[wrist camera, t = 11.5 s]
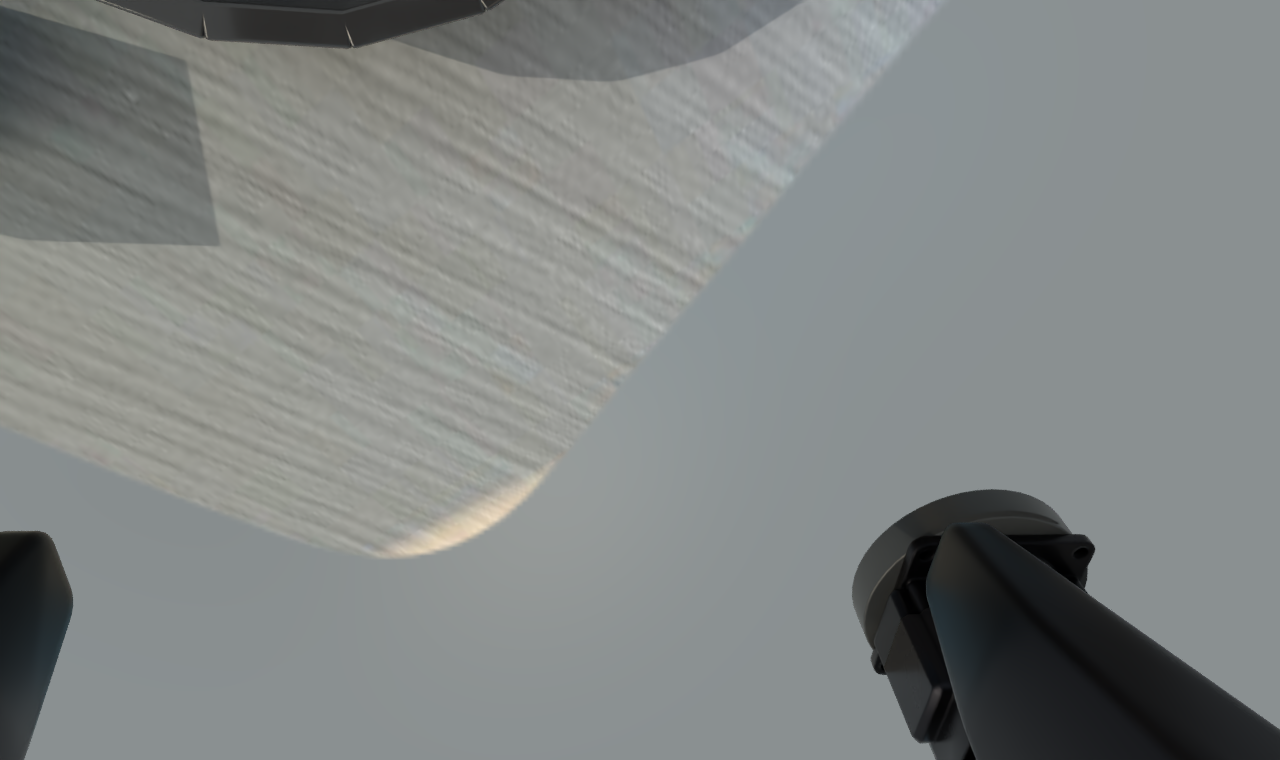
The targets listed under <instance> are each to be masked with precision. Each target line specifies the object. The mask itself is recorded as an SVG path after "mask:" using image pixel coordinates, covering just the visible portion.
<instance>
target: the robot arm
mask: <svg viewBox="0 0 1280 760" xmlns="http://www.w3.org/2000/svg"><path fill="white" fill-rule="evenodd" d="M925 550H926V551H925ZM923 551H925V552H923ZM1094 553H1095V546H1094V544H1093V543H1092V542H1091V541H1090V539H1089V538H1088V537H1087V536H1085V535H1082V534H1041V535H1004V534H1002V533H1001V532H999V531H998V530H997V529H995V528H994V527H992V526H990V525H988V524H986V523H953V524H950V525H949V526H948V527H947V528H946V529H945V530H944V532H943V534H942V536H922V537H919V538H917V539H915V540H913V541H912V542H911V543H910V545H909V547H908V549H907V552H906V555H905V558H904V561H903V564H902V567H901V570H900V573H899V576H898V579H897V581H896V584H895V587H894V590H893V591H892V592H891V594H890V595H889V597H888V600H887V603H886V606H885V609H884V612H883V615H882V618H881V621H880V624H879V627H878V630H877V633H876V636H875V639H874V645H875V646H874V649H873V652H872V655H871V663H872V666H873V668H874V670H875V672H876V673H878V674H882V675H887V676H888V679H889V681H890V684H891V686H892V688H893V691H894V693H895V696H896V698H897V700H898V703H899V706H900V708H901V710H902V713H903V715H904V718H905V720H906V723H907V725H908V728H909V730H910V732H911V735H912V737H913V738H915V740H916V741H917V742H919V743H929V745H930V747H931V750H932V752H933V754H934V757H935V759H936V760H1280V729H1278V728H1277V727H1275V726H1274V725H1273V724H1271V723H1270V722H1268V721H1267V720H1266V719H1264V718H1263V717H1261V716H1260V715H1258V714H1257V713H1256V712H1254V711H1253V710H1251V709H1250V708H1248V707H1247V706H1246V705H1244V704H1243V703H1242V702H1240V701H1239V700H1237V699H1236V698H1234V697H1233V696H1232V695H1230V694H1229V693H1227V692H1226V691H1224V690H1223V689H1222V688H1220V687H1219V686H1217V685H1216V684H1215V683H1213V682H1212V681H1210V680H1209V679H1208V678H1206V677H1205V676H1203V675H1202V674H1200V673H1199V672H1198V671H1196V670H1195V669H1193V668H1192V667H1190V666H1189V665H1187V664H1186V663H1185V662H1183V661H1182V660H1181V659H1179V658H1178V657H1176V656H1175V655H1173V654H1172V653H1171V652H1169V651H1168V650H1166V649H1165V648H1164V647H1162V646H1161V645H1159V644H1158V643H1156V642H1155V641H1154V640H1152V639H1151V638H1149V637H1148V636H1147V635H1145V634H1144V633H1142V632H1141V631H1139V630H1138V629H1137V628H1135V627H1134V626H1132V625H1131V624H1129V623H1128V622H1127V621H1125V620H1124V619H1123V618H1121V617H1120V616H1118V615H1117V614H1115V613H1114V612H1113V611H1111V610H1110V609H1108V608H1107V607H1105V606H1104V605H1103V604H1101V603H1100V602H1098V601H1097V600H1096V599H1094V598H1093V597H1091V596H1090V595H1089V594H1088V593H1087V591H1086V590H1085V589H1084V587H1083V586H1082V584H1081V583H1080V581H1081V579H1082V577H1083V575H1084V573H1085V571H1086V569H1087V567H1088V565H1089V563H1090V561H1091V559H1092V557H1093V555H1094ZM72 596H73V595H72V591H71V587H70V584H69V582H68V579H67V576H66V574H65V571H64V568H63V566H62V563H61V560H60V558H59V555H58V552H57V550H56V547H55V544H54V542H53V540H52V538H51V537H50V536H48V534H46V533H44V532H40V531H4V532H0V760H24V758H25V755H26V752H27V750H28V747H29V744H30V741H31V738H32V735H33V732H34V729H35V725H36V723H37V720H38V717H39V714H40V711H41V708H42V704H43V701H44V698H45V695H46V692H47V689H48V686H49V683H50V680H51V676H52V674H53V671H54V667H55V665H56V662H57V658H58V655H59V652H60V649H61V646H62V643H63V640H64V637H65V634H66V631H67V628H68V625H69V622H70V618H71V615H72V608H73V597H72Z"/></svg>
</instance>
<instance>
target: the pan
mask: <svg viewBox="0 0 1280 760" xmlns="http://www.w3.org/2000/svg"><path fill="white" fill-rule="evenodd" d="M96 1H99V2H102V3H105V4H107V5H110V6H113V7H116V8H118V9H121V10H124V11H127V12H129V13H132V14H135V15H138V16H140V17H143V18H146V19H149V20H151V21H154V22H157V23H160V24H162V25H165V26H168V27H171V28H173V29H176V30H179V31H182V32H184V33H187V34H190V35H193V36H195V37H198V38H205V37H206V39H208V40H212V41H229V42H245V43H261V44H277V45H293V46H309V47H325V48H342V49H349V48H351V47H353V48H359V47H363V46H367V45H370V44H374V43H378V42H381V41H385V40H389V39H392V38H396V37H400V36H403V35H407V34H411V33H414V32H418V31H422V30H425V29H429V28H433V27H436V26H440V25H444V24H447V23H451V22H455V21H458V20H462V19H466V18H469V17H473V16H477V15H480V14H483V13H484V12H485V11H486V10H487V11H488V10H491V9H493V8H494V7H496V6H497V5H499V4H500V3H501V2H503V1H504V0H96Z"/></svg>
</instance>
